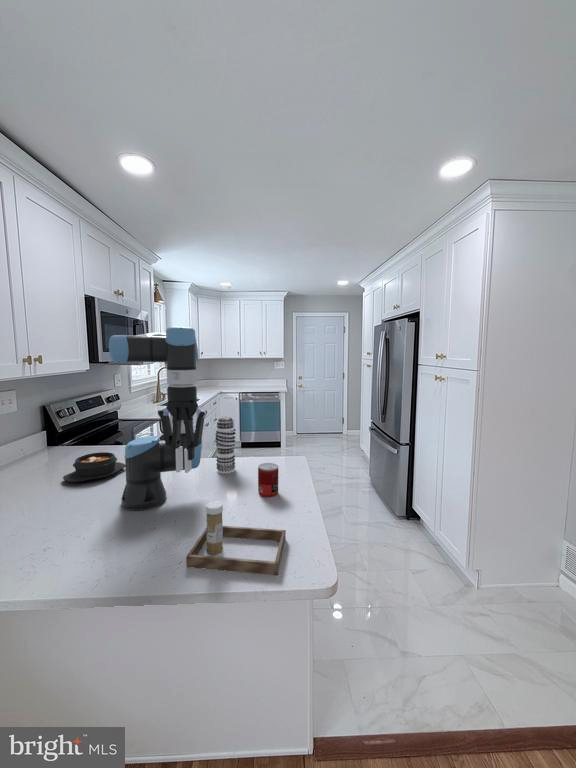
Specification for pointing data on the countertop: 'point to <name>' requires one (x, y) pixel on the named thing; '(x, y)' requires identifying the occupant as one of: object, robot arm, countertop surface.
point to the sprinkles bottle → (214, 527)
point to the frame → (236, 563)
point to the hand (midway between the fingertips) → (183, 470)
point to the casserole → (94, 467)
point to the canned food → (268, 479)
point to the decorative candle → (225, 445)
